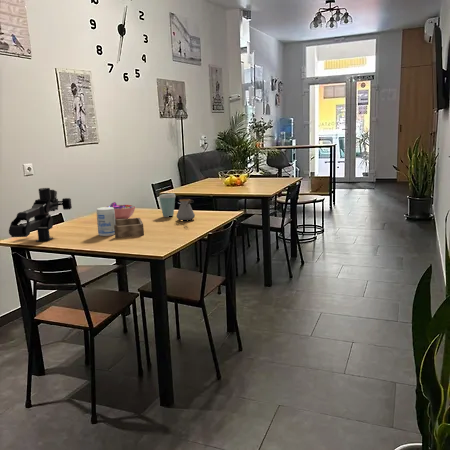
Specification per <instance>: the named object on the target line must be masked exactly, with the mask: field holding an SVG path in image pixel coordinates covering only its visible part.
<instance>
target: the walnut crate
mask: <svg viewBox="0 0 450 450" xmlns="http://www.w3.org/2000/svg"><path fill="white" fill-rule="evenodd" d="M114 230H115V234H114V239H118V238H128V237H140V236H144V235H145V233H144V232H145V231H144V222H143V221H142V219H141V217H132V218H130V217H129V218H128V219H117V220H116V218H115V225H114Z"/></svg>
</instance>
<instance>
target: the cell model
mask: <svg viewBox="0 0 450 450" xmlns="http://www.w3.org/2000/svg"><path fill="white" fill-rule="evenodd" d="M106 207H113V208H114V211H115V218H116V220H117V219H129V218H130V217H132V216H133V214H134V212H135V209H136V206H134V205H132V204H117V203H116V201H113V202H112V203H111V204H110V205H107V206H106Z"/></svg>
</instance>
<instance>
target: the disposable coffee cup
mask: <svg viewBox="0 0 450 450" xmlns="http://www.w3.org/2000/svg"><path fill="white" fill-rule="evenodd" d="M158 198H159V204H160V209H161V213H162V216H164V217H163V218H170V217H169V216H173V217H174V215H175V203H176V194H175V192H174V193H163V194H160V195H159V196H158Z"/></svg>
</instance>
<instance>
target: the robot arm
mask: <svg viewBox="0 0 450 450" xmlns="http://www.w3.org/2000/svg"><path fill="white" fill-rule="evenodd" d="M38 194H39V198H38V199H35V201H34V202H33V205H32V206H31V207H30V208H29V209H27V210H24V211H21V212H17V214H16V217H15V218H14V219H13V220H12V221H11V222H10V226H9V228H8V234H9V235H10V237H11V238H27V237H28V236H30V234H31V232H33V231H36V232H37V237H38V239H36V240H35V242H38V243H39V242H49V241H51V240H53V237H51V235H50V230H52V229H53V222H54V219H53V216H52V215H51V214H50V212H55V211H58V210H59V206H62V209H63V210H65V211H66V210H71V209H73V208H72V198H70V197H64V198H62V199H61V200H59V198H57V197H58V196H57V195H58V191H56V190H55V189H50V187H41V188H38ZM32 218H33V219H32ZM30 219H32V220H30ZM21 221H25V223H23V224H20V223H21Z"/></svg>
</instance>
